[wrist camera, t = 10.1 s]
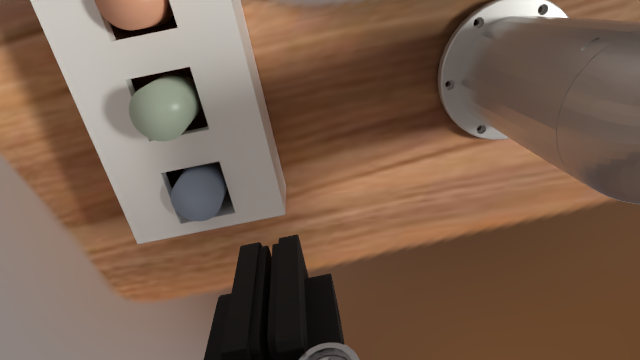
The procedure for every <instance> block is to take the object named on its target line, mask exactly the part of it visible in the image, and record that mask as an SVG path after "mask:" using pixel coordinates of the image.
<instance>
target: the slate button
mask: <svg viewBox="0 0 640 360" xmlns="http://www.w3.org/2000/svg"><path fill="white" fill-rule="evenodd" d="M226 190H227V184H226V181H225V178H224V175H223V171H222V168H221V165H220V162H219V161H218V162H213V163H208V164H203V165H198V166H193V167H189V168H185V169H184V171H183V172H182V174H181V176H180V177H179V179H178V181H177V182H176V184H175V185H174V187H173V189H172V192H171V203H172V205H173V208H174V209H175V210H176V212H177V213H178V214H179V215H181V216H182V217H184V218H186V219H188V220H191V221H205V220H208V219H211V218H212V217H214V216H215V215H216V214H217V213H218V212H219V210H220V208H221V205H222V202H223V199H224V196H225V193H226Z"/></svg>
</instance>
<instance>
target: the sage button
mask: <svg viewBox="0 0 640 360" xmlns="http://www.w3.org/2000/svg"><path fill="white" fill-rule="evenodd" d="M201 107H202V104H201V101H200V98H199V94H198V91H197V88H196V85H195V82H194V81H193V80H192V79H190V78H189V77H187V76H185V75H183V74H179V73H168V74H165V75H163V76H161V77H159V78H157V79H156V80H154V81H152V82H151V83H149V84H147V85H146V86H144V87H142V88H141V89H139V90H138V91H137V92H135V94H134V95H133V96H132V98H131V100H130V104H129V115H130V119H131V121H132V123H133V125H134V126H135V128H136V129H137V130H138V131H139V132H140V133H141V134H142V135H144V136H146V137H147V138H149V139H152V140H156V141H170V140H173V139H175V138H177V137H179V136H180V135H181V134H182V133H183V132H184V131H185V129H186V128H187V127H188V126H189V124H190V123H191V122H192V121H193V119H194V118H195V117H196V116H197V114H198V113H199V112H200V109H201Z"/></svg>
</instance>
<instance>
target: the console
mask: <svg viewBox="0 0 640 360" xmlns="http://www.w3.org/2000/svg"><path fill="white" fill-rule="evenodd" d="M30 1H31V3H32V6H33V8H34V10H35V13H36V15H37V17H38V19H39V22H40V24H41V26H42V28H43V31H44V33H45V35H46V37H47V40H48V42H49V44H50V47H51V49H52V51H53V53H54V56H55V58H56V60H57V62H58V65H59V67H60V69H61V71H62V74H63V76H64V78H65V81H66V83H67V85H68V87H69V90H70V92H71V94H72V96H73V99H74V101H75V103H76V105H77V108H78V110H79V112H80V115H81V117H82V119H83V121H84V124H85V126H86V128H87V130H88V133H89V135H90V137H91V139H92V142H93V144H94V146H95V149H96V151H97V153H98V155H99V158H100V160H101V162H102V164H103V167H104V169H105V171H106V173H107V176H108V178H109V180H110V183H111V185H112V187H113V189H114V192H115V194H116V196H117V198H118V201H119V203H120V205H121V208H122V210H123V212H124V214H125V217H126V219H127V221H128V223H129V226H130V228H131V230H132V232H133V235H134V237H135V239H136V242H137V244H142V243H147V242H152V241H157V240H162V239H167V238H172V237H177V236H182V235H187V234H192V233H197V232H202V231H207V230H212V229H217V228H222V227H226V226H231V225H236V224H241V223H246V222H251V221H256V220H261V219H266V218H271V217H276V216H281V215H286V184H285V180H284V176H283V172H282V168H281V164H280V160H279V155H278V151H277V147H276V143H275V139H274V135H273V131H272V127H271V123H270V119H269V115H268V111H267V107H266V102H265V98H264V94H263V90H262V86H261V82H260V78H259V74H258V70H257V66H256V62H255V58H254V53H253V49H252V45H251V41H250V37H249V33H248V29H247V25H246V21H245V17H244V13H243V9H242V5H241V0H169V1H170V5H171V8H172V11H173V14H174V17H175V21H176V24H177V27H178V28H174V29H169V30H164V31H159V32H154V33H149V34H144V35H140V36H135V37H130V38H125V39H120V40H116V39H115V36H114V33H113V31H112V28H111V25H110V23H109V22H108V21H107V20H106V19H105V18H104V17H103V16H102V14H101V13H100V12H99V10H98V8H97V6H96V4H95V1H94V0H30ZM186 67H190V69H191V72H192V75H193V78H194V82H195V85H196V88H197V91H198V94H199V98H200V101H201V104H202V107H203V110H204V114H205V117H206V120H207V123H208V127H203V128H198V129H193V130H188V131H184V132H183V133H182V134H181V135H180V136H179V137H177V138H175V139H173V140H170V141H156V140H152V139H149V138H147V137H146V136H144V135H142V134H141V133H140V132H139V131H138V130H137V129H136V128H135V126H134V125H133V123H132V121H131V119H130V115H129V104H130V100H131V98H132V96H133V95H134V94H135V89H134V87H133V84H132V81H131V79H133V78H137V77H142V76H147V75H152V74H157V73H162V72H167V71H172V70H177V69H181V68H186ZM218 161H219V162H220V165H221V168H222V171H223V175H224V178H225V181H226V184H227V187H228V188H227V190H226V193H225V196H224V199H223V202H222V205H221V208H220V210H219V212H218V213H217V214H216V215H215V216H214V217H212V218H211V219H208V220H205V221H191V220H188V219H186V218H184V217H182V216H181V215H179V214H178V213H177V212H176V210H175V209H174V208H173V205H172V203H171V192H172V188H171V185H170V183H169V180H168V177H167V175H166V172H169V171H174V170H179V169H184V168H189V167H193V166H198V165H203V164H208V163H213V162H218Z"/></svg>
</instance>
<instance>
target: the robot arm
mask: <svg viewBox="0 0 640 360" xmlns="http://www.w3.org/2000/svg"><path fill="white" fill-rule="evenodd" d="M538 8H540V9H539V11H538ZM475 19H476V20H477V24H476V25H474V21H475ZM447 81H449V84H448V85H447V86H445V83H446V82H447ZM438 91H439V95H440V100H441V102H442V105H443V107H444V109H445V111H446V113H447V114H448V115H449V117H450V118H451V120H452V121H453V122H454V123H456V124H457V125H458V126H459V127H460V128H462V129H463V130H465V131H466V132H468V133H469V134H472V135H474V136H476V137H479V138H484V139H490V140H504V139H509V138H510V139H512V140H514V141H515V142H517V143H518V144H520V145H522V146H523V147H525V148H527V149H528V150H530V151H531V152H533V153H535V154H536V155H538V156H540V157H541V158H543V159H544V160H546V161H548V162H549V163H551V164H553V165H554V166H556V167H557V168H559V169H561V170H562V171H564V172H566V173H567V174H569V175H570V176H572V177H574V178H575V179H577V180H579V181H580V182H582V183H584V184H586V185H588V186H589V187H591V188H592V189H594V190H596V191H598V192H600V193H602V194H604V195H606V196H608V197H611V198H614V199H617V200H620V201H624V202H629V203H635V204H640V22H630V21H613V20H595V19H578V18H569V17H568V16H567V15H566V14H565V12H564V11H563V10H562V9H561V8H560V7H558V6H557V5H555V4H554V3H552V2H551V1H548V0H494V1H491V2H489V3H487V4H485V5H483V6H481V7H480V8H478V9H477V10H475V11H474V12H472V13H471V14H470V15H469V16H468V17H467V18H466V19H465V20H464V21H462V22H461V24H460V25H459V26H458V27H457V29H456V30H455V31H454V33H453V34H452V35H451V37H450V39H449V41H448V43H447V44H446V46H445V48H444V51H443V54H442V57H441V60H440V64H439V70H438ZM478 126H480V127H479V128H478ZM477 128H478V129H477ZM204 360H359V358H358V357H357V355H356V353H355V352H354V351H353V350H352V349H351V348H349V347H348V346H346V345H345V344H344V338H343V332H342V326H341V320H340V315H339V310H338V305H337V299H336V295H335V290H334V285H333V281H332V276H331V274H326V275H321V276H316V277H311V278H309V277H308V273H307V269H306V265H305V261H304V257H303V253H302V249H301V245H300V241H299V237H298V235H293V236H288V237H283V238H279V243H278V244H273V248H272V257H271V253H270V250H269V247H268V246H263V247H262V245H261V243H260V242H258V243H253V244H248V245H243V246H241V247H240V252H239V257H238V262H237V268H236V273H235V278H234V283H233V288H232V293H231V294H226V295H221V296H220V297H219V298H218V302H217V305H216V310H215V314H214V318H213V323H212V327H211V331H210V336H209V340H208V344H207V348H206V352H205V357H204Z"/></svg>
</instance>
